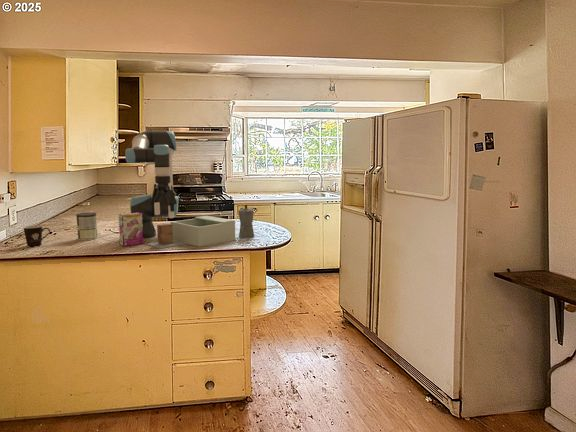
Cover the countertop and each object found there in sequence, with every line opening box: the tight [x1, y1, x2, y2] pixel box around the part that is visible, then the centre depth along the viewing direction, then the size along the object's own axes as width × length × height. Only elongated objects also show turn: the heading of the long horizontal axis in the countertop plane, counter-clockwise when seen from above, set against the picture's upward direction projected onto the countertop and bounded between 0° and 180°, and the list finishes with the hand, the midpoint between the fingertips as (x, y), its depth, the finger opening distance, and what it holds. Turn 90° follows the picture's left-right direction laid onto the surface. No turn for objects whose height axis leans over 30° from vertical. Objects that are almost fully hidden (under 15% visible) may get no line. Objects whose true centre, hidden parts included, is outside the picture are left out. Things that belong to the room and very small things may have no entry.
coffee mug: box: [22, 225, 51, 247], centre depth 250 cm, size 12×9×10 cm
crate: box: [169, 215, 236, 248], centre depth 263 cm, size 26×24×11 cm
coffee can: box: [76, 212, 99, 241], centre depth 267 cm, size 10×10×14 cm
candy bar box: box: [118, 212, 144, 247], centre depth 251 cm, size 11×5×16 cm, turn 131°
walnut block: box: [156, 223, 174, 245], centre depth 251 cm, size 5×6×10 cm
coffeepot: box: [237, 204, 255, 239], centre depth 272 cm, size 15×9×18 cm, turn 26°
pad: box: [146, 240, 186, 250], centre depth 251 cm, size 14×14×1 cm
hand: (164, 216), depth 250 cm, fingers open, 13 cm apart
